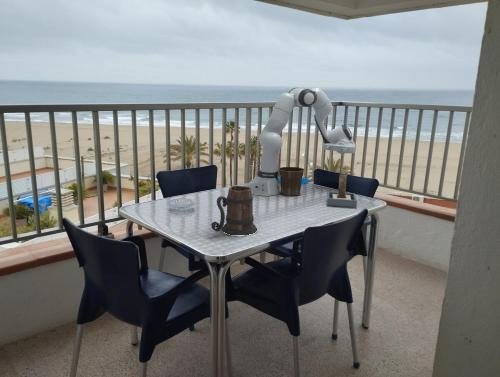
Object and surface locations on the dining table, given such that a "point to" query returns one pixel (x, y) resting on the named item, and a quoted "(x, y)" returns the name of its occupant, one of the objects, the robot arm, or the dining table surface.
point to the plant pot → (291, 180)
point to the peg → (342, 186)
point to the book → (304, 180)
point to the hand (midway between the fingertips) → (335, 149)
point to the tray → (341, 200)
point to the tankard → (236, 212)
